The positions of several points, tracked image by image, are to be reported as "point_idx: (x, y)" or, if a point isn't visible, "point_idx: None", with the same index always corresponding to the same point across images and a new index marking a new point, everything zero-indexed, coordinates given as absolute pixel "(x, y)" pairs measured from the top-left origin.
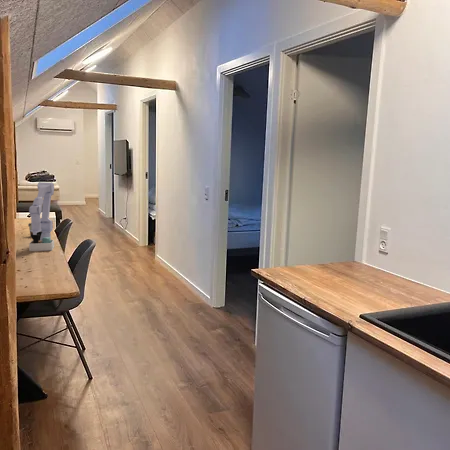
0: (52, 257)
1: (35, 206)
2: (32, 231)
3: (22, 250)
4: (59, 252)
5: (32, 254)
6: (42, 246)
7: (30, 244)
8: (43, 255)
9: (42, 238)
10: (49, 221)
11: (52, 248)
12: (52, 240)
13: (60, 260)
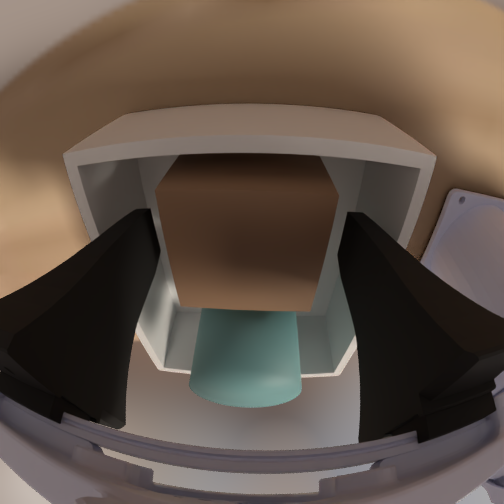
0: None
1: None
2: (4, 454)
3: (185, 4)
4: None
5: (17, 193)
6: None
7: (77, 168)
8: (25, 268)
9: (221, 367)
10: (497, 495)
11: (198, 322)
12: (335, 364)
13: None
